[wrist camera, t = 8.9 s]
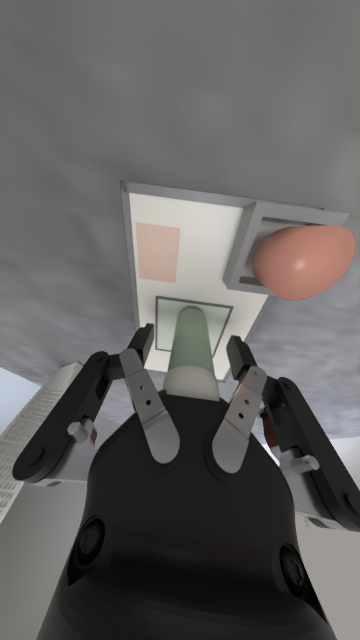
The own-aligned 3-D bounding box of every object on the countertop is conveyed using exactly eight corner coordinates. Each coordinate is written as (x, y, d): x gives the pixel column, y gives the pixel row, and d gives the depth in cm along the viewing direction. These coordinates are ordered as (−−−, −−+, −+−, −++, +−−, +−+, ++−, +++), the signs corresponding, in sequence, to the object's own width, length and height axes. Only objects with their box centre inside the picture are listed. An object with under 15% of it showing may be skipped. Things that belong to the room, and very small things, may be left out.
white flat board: (141, 366, 25) (135, 383, 23) (124, 183, 11) (101, 169, 8) (224, 378, 25) (228, 396, 23) (315, 209, 11) (356, 203, 8)
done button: (244, 281, 11) (258, 296, 9) (267, 222, 9) (295, 219, 6) (291, 287, 11) (319, 304, 9) (326, 230, 9) (378, 231, 6)
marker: (175, 325, 18) (159, 414, 9) (178, 300, 16) (161, 385, 7) (203, 329, 18) (212, 421, 9) (210, 305, 16) (229, 395, 7)
